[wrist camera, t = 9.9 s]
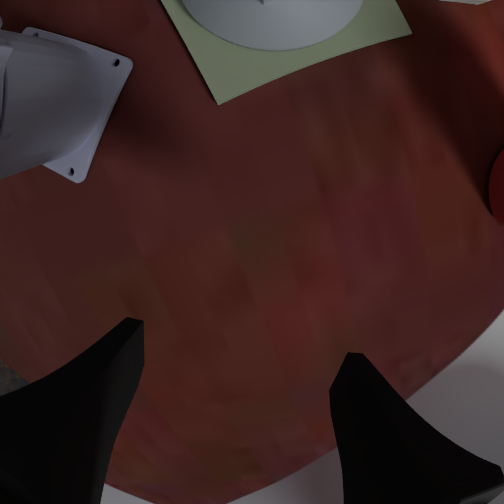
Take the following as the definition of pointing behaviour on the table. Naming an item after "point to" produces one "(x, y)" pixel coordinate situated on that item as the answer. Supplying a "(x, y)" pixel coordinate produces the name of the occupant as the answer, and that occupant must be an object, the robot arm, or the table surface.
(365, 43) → the mat
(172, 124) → the table surface
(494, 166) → the beer can
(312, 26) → the lid
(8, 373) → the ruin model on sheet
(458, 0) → the bowl
